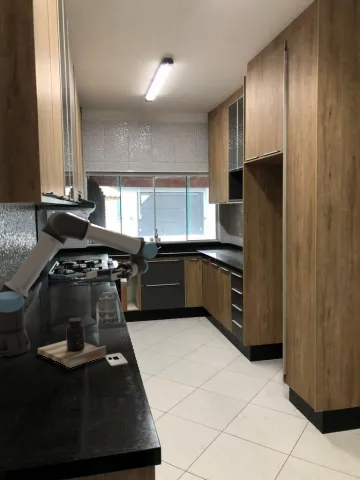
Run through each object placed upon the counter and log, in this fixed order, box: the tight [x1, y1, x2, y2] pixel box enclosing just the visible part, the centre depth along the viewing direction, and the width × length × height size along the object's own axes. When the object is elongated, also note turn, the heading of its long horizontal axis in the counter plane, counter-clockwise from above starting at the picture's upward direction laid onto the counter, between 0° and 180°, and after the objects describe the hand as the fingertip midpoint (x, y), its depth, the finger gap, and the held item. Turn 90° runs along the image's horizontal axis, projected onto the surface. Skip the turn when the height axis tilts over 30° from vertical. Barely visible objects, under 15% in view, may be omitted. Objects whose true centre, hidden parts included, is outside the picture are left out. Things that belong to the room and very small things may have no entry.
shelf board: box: [37, 340, 107, 369], centre depth 150 cm, size 23×16×4 cm
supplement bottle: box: [65, 317, 86, 352], centre depth 150 cm, size 7×7×12 cm
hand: (99, 276), depth 169 cm, fingers open, 13 cm apart
